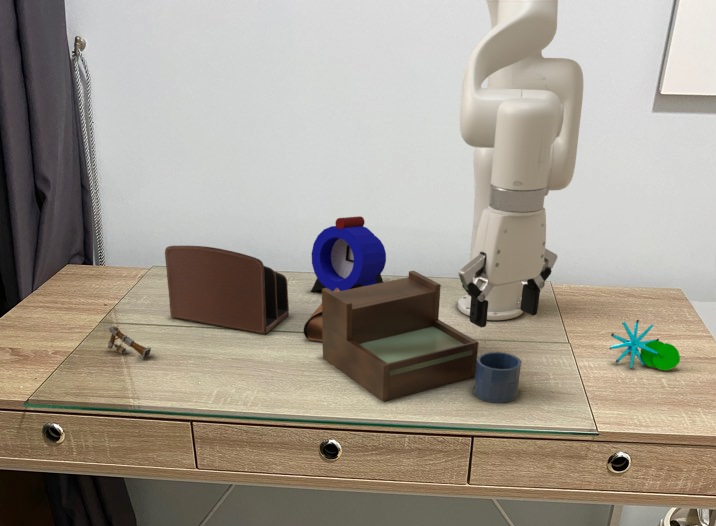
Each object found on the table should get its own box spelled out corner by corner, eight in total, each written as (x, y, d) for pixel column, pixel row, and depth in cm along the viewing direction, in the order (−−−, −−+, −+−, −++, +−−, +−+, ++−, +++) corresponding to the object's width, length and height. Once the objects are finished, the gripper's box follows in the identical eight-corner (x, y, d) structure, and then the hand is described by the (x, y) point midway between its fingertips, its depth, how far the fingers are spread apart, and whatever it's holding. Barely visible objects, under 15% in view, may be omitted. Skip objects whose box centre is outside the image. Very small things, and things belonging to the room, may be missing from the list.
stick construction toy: (602, 353, 144) (623, 310, 143) (596, 361, 151) (616, 320, 150) (669, 383, 142) (691, 340, 142) (660, 390, 149) (681, 348, 149)
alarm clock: (308, 292, 172) (306, 215, 163) (344, 276, 180) (344, 201, 172) (359, 306, 167) (359, 226, 158) (393, 288, 175) (396, 211, 166)
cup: (498, 380, 140) (502, 348, 137) (526, 396, 136) (530, 364, 132) (465, 389, 137) (468, 357, 134) (492, 406, 133) (495, 373, 130)
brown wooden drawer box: (322, 357, 147) (321, 288, 140) (410, 336, 155) (413, 270, 148) (382, 401, 134) (385, 328, 127) (475, 376, 141) (482, 305, 134)
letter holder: (265, 335, 155) (261, 256, 146) (170, 318, 160) (160, 242, 152) (289, 316, 162) (286, 239, 154) (197, 300, 168) (190, 226, 160)
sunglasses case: (349, 342, 151) (330, 308, 148) (316, 357, 154) (297, 325, 151) (373, 306, 165) (356, 275, 162) (343, 321, 168) (326, 290, 166)
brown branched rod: (107, 342, 149) (112, 321, 146) (145, 367, 149) (151, 346, 146) (101, 346, 148) (106, 324, 145) (139, 371, 147) (145, 350, 144)
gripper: (546, 186, 126) (531, 301, 135) (449, 200, 118) (441, 321, 128) (582, 197, 120) (564, 316, 130) (483, 212, 113) (472, 337, 123)
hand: (503, 318), depth 129 cm, fingers open, 9 cm apart
